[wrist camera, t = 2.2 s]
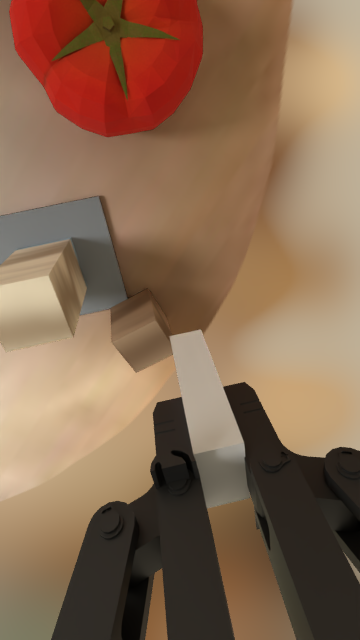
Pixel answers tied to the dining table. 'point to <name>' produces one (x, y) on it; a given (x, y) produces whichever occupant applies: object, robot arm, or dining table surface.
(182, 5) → the tomato
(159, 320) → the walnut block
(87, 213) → the rubber mat
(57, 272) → the birch block
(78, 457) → the dining table surface
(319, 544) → the robot arm
